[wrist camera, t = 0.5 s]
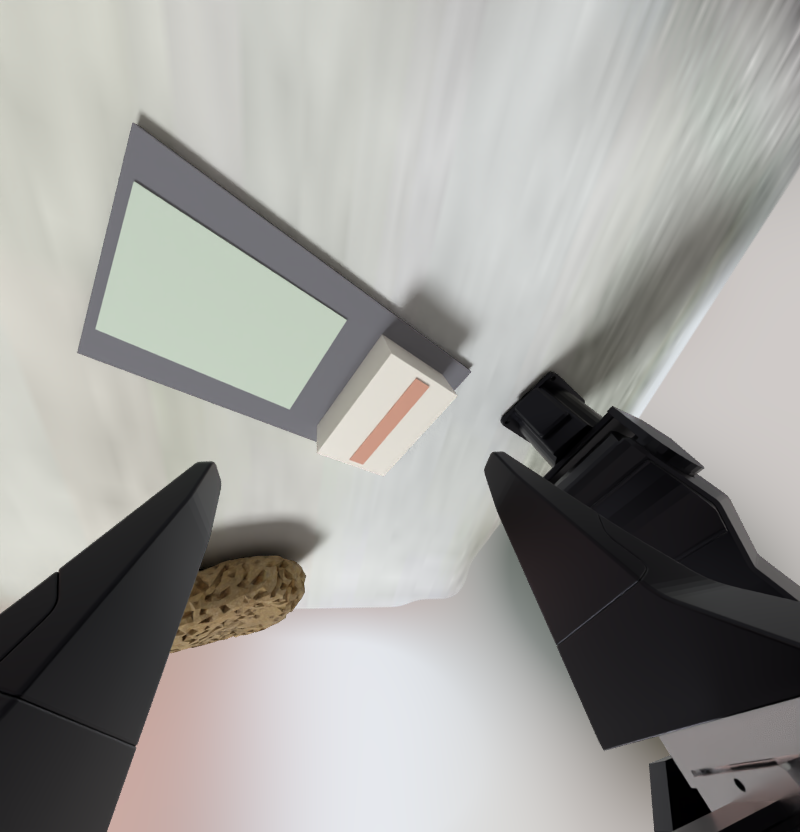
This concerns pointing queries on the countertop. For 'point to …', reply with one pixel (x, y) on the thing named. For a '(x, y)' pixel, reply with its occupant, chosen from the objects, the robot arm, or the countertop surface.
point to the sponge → (239, 599)
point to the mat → (229, 300)
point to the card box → (383, 409)
